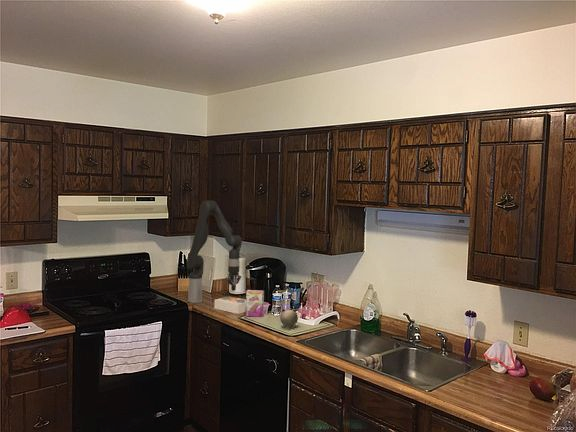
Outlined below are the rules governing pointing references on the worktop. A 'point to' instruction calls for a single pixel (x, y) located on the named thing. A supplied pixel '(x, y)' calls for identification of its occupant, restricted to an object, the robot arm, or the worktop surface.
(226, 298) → the grey button
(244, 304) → the control panel
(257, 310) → the candy bar box
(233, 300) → the terracotta button
